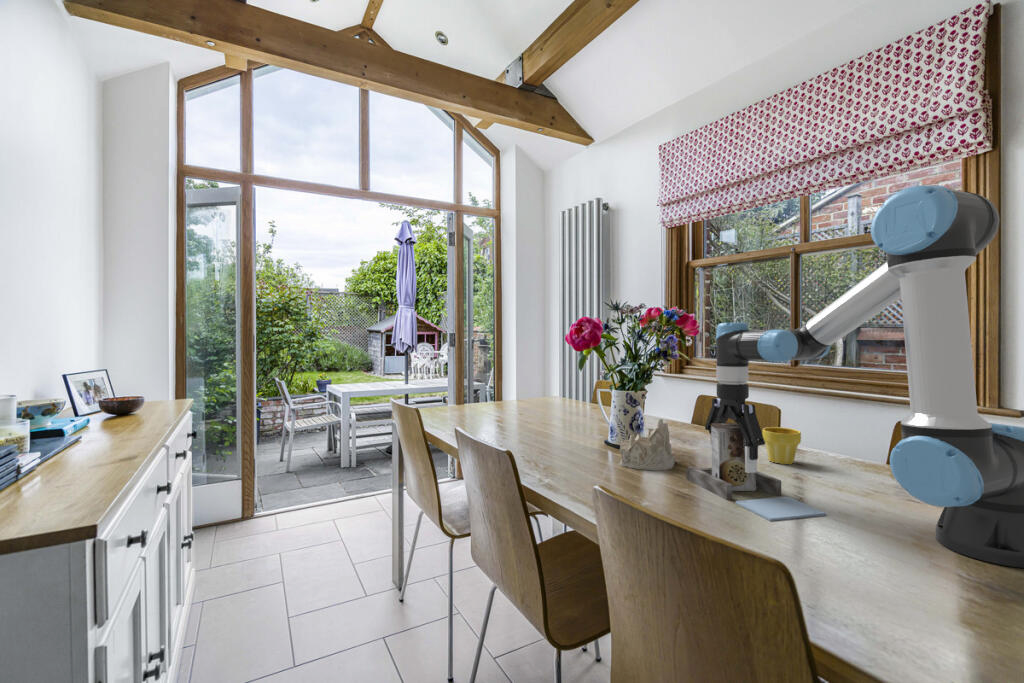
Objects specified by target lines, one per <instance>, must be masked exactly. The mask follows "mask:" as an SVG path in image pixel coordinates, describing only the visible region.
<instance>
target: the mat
mask: <svg viewBox="0 0 1024 683" xmlns="http://www.w3.org/2000/svg"><path fill="white" fill-rule="evenodd" d="M735 504H736V505H739V506H740V507H742V508H744V509H746V510H747V511H749V512H752V513H753V514H755V515H756V516H757V515H758V516H759V517H762V519H763V518H764V519H765V520H767V521H768V522H773V521H782V520H783V521H784V520H793V519H801V518H802V519H803V518H813V517H823V516H827V513H826V512H825V511H823V510H820V509H818V508H816V507H813V506H811V505H809V504H806V503H803V502H801V501H799V500H796V499H794V498H792V497H789V496H778V497H765V498H756V499H755V498H754V499H746V500H736V501H735Z"/></svg>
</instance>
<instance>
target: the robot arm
mask: <svg viewBox="0 0 1024 683" xmlns="http://www.w3.org/2000/svg"><path fill="white" fill-rule="evenodd" d="M871 220H872V221H871V226H870V235H871V239H872V241H873V243H874V245H875V246H876V247H877V248H879V249H880V250H881V251H882V252H884V253H886V261H885V262H884V263H883V264H882V265H880V266H879V267H877V268H876V269H875V270H874V271H872V272H871V273H870V274H868V275H867V276H865V277H864V278H863V279H862V280H860V281H859V282H858V283H856V284H855V285H854V286H852V287H851V288H850V289H848V290H847V291H846V292H844V293H843V294H842V295H840V296H839V297H837V299H835V300H834V301H833V302H831V303H830V304H828V305H827V306H826V307H824V308H823V309H821V311H819V312H818V313H816V314H815V315H814V316H812V317H811V318H810V319H808V320H807V321H806V322H804V324H802V325H801V326H799V327H797V328H796V329H781V328H780V329H779V328H777V329H776V328H773V329H754V330H752V329H750V328H749V324H748V323H747V322H720V323H719V324H717V326H716V335H715V344H716V345H715V346H716V365H715V366H716V367H715V368H716V370H715V371H716V373H715V375H716V377H715V378H716V381H717V383H716V397H717V398H715V397H714V398H712V399H711V408H710V410H709V414H708V417H707V420H706V422H705V427H704V428H705V431H708V433H709V434H710V435H711V423H727V422H728V419H730V420H732V421H734V423H737V424H738V426H739V428H740V430H741V432H742V434H743V436H744V438H745V440H746V442H747V444H746V445H745V472H746V473H754V472H757V471H758V458H759V454H758V453H759V446H764V445H766V444H765V441H764V438H763V435H762V432H763V431H762V430H761V426H760V423H759V420H758V416H757V412H756V405H755V404H753V403H752V404H746V399H748V398H749V394H750V392H749V388H750V386H749V384H748V383H747V382H749V361H759V362H770V363H787V362H790V361H813V360H817V359H822V358H824V357H825V356H827V355H828V354H829V352H830V350H831V347H832V345H834V344H835V343H836V342H838V341H839V340H841V339H843V338H844V337H845V336H847V335H849V334H850V333H851V332H853V331H854V330H856V329H857V328H858V327H861V326H862V325H864V324H865V323H866V322H868V321H869V320H870V319H872V318H874V317H875V316H877V315H879V314H880V313H881V312H883V311H885V309H887V308H888V307H890V306H892V305H893V304H894V303H896V302H897V301H900V300H901V312H902V323H903V324H902V326H903V335H904V336H903V337H904V338H903V339H904V347H905V361H906V372H907V383H908V394H909V395H908V397H909V407H910V412H909V414H907V415H906V416H905V417H904V418H903V419H902V420H901V421H900V430H901V440H899V441H898V442H897V443H896V445H895V446H894V447H893V448H892V450H891V452H890V456H889V467H890V470H891V473H892V475H893V477H894V478H895V481H896V482H897V483H898V485H899V486H900V487H901V488H903V489H904V490H905V491H906V492H907V493H908V494H909V495H910V496H912V497H913V498H915V499H916V500H918V501H920V502H923V503H924V504H927V505H930V506H935V507H939V508H940V507H942V508H943V509H942V511H941V513H940V516H939V518H938V521H937V523H936V524H935V539H936V541H937V542H938V543H939V544H940V545H942V546H944V547H945V548H947V549H950V550H952V551H953V552H956V553H958V554H961V555H964V556H967V557H969V558H973V559H977V560H979V561H983V562H987V563H992V564H996V565H1001V566H1005V567H1006V566H1008V567H1013V568H1021V569H1024V426H1018V425H1008V424H1003V423H1001V424H1000V423H994V422H989V421H987V420H986V419H985V418H983V417H982V416H980V413H979V412H978V403H977V394H976V392H977V391H976V381H975V370H974V359H973V358H974V357H973V349H972V348H973V347H972V338H971V337H972V336H971V326H970V325H971V324H970V317H969V316H970V315H969V304H968V303H969V302H968V294H967V282H966V273H965V272H966V270H967V269H968V268H969V267H970V266H971V265H972V264H973V263H974V262H975V261H976V260H977V255H978V254H979V253H980V252H982V251H983V250H984V249H985V248H987V246H988V245H990V243H991V242H992V241H993V239H994V238H995V236H996V235H997V233H998V230H999V228H1000V214H999V211H998V209H997V207H996V206H995V204H994V203H993V202H992V201H990V199H989V198H986V197H985V196H983V195H981V194H978V193H974V192H968V191H961V190H956V189H955V190H954V189H950V188H947V187H945V186H942V185H936V184H935V185H914V186H910V187H907V188H904V189H901V190H899V191H897V192H895V193H894V194H892V195H890V196H889V197H888V198H887V199H886V200H885V201H884V202H883V203H882V204H881V206H880V207H879V208H878V209H877V211H876V212H875V214H874V216H873V218H872V219H871ZM751 440H752V441H751ZM710 458H711V459H712V454H711V453H710Z"/></svg>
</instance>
